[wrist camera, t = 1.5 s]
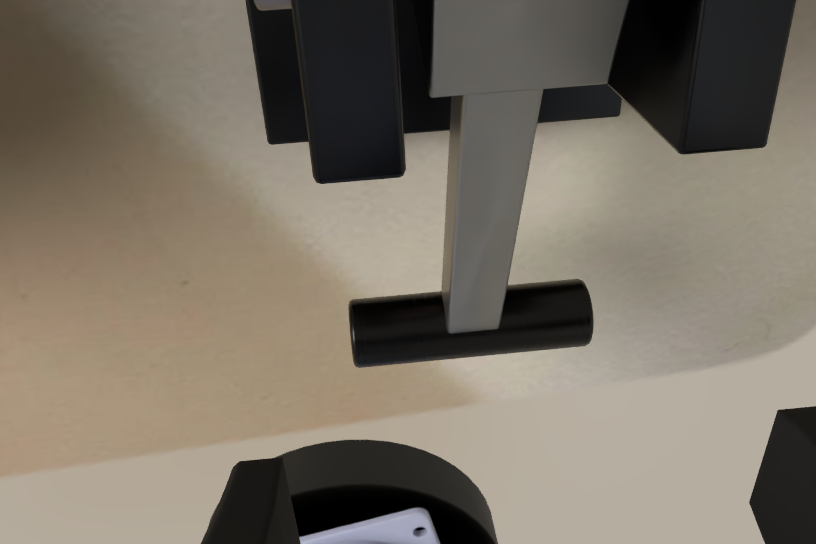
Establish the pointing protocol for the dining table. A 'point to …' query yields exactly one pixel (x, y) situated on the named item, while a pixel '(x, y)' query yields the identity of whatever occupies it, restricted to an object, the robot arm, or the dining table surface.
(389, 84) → the bracket
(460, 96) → the lever
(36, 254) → the dining table surface
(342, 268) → the dining table surface
